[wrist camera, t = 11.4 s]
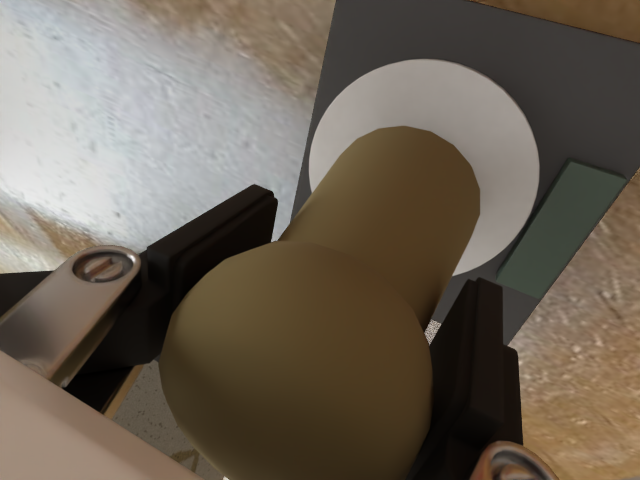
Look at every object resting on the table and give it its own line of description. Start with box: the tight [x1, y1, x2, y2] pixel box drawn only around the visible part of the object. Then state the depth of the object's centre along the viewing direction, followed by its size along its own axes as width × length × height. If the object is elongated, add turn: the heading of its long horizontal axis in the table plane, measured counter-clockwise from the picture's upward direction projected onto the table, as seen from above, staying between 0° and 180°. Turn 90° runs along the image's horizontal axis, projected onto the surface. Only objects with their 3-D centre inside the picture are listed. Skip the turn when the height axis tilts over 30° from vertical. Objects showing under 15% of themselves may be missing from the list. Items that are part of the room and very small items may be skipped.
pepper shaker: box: [158, 126, 480, 480], centre depth 10 cm, size 6×6×11 cm
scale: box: [290, 0, 640, 346], centre depth 18 cm, size 14×13×3 cm
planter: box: [112, 360, 224, 480], centre depth 25 cm, size 19×19×20 cm
